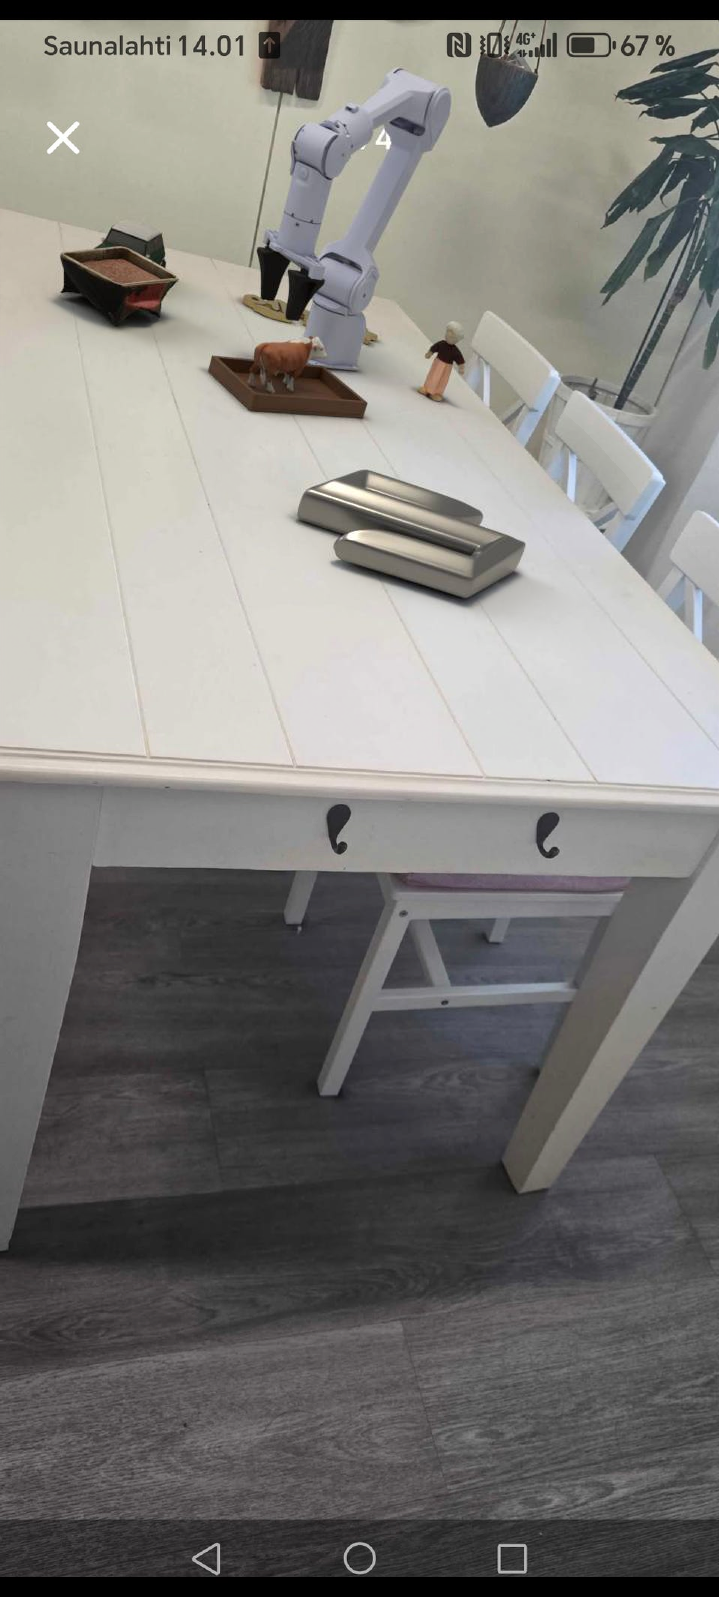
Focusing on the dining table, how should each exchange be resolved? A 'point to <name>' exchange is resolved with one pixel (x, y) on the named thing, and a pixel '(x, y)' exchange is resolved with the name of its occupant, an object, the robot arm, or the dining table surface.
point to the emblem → (410, 532)
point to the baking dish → (116, 280)
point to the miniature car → (137, 240)
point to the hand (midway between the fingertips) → (279, 309)
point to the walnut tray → (310, 396)
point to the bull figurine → (285, 359)
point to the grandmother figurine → (444, 361)
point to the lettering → (273, 312)
